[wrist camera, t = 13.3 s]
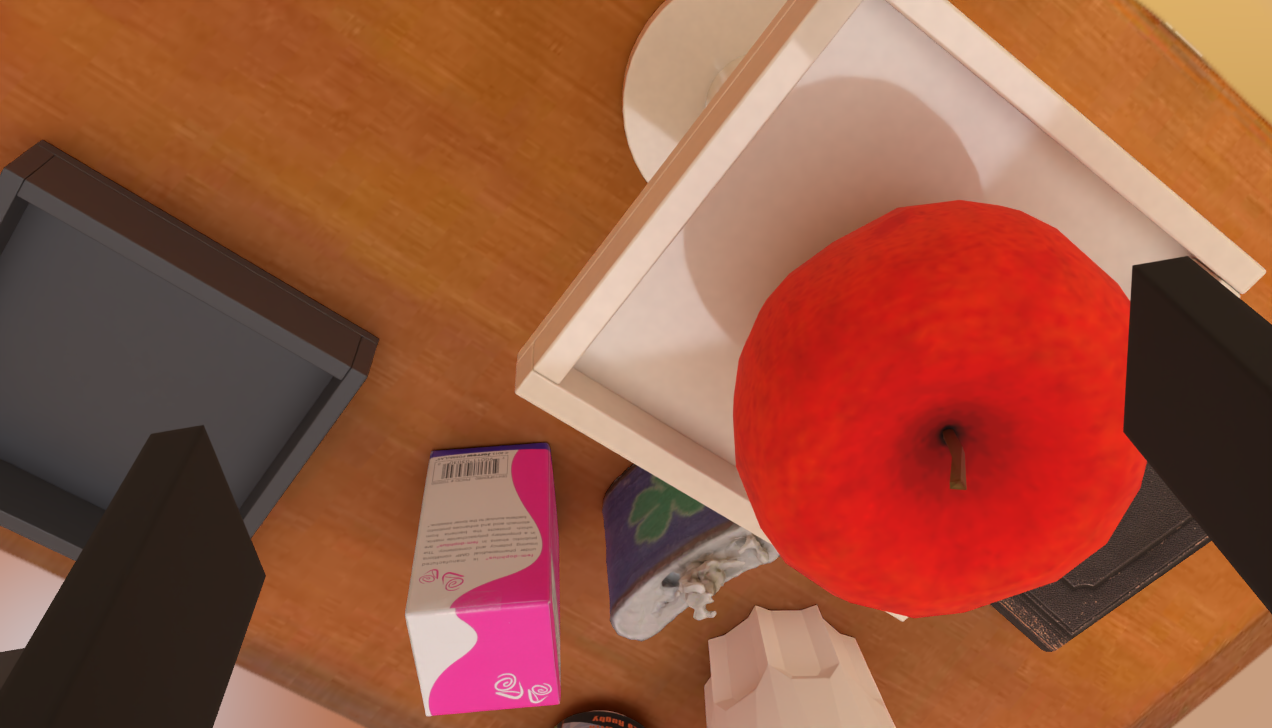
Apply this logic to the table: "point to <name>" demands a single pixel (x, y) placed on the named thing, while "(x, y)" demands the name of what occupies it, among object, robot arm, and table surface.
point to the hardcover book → (1110, 568)
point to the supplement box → (487, 581)
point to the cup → (790, 676)
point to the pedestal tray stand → (811, 202)
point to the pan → (146, 352)
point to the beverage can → (598, 720)
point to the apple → (938, 410)
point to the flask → (668, 553)
